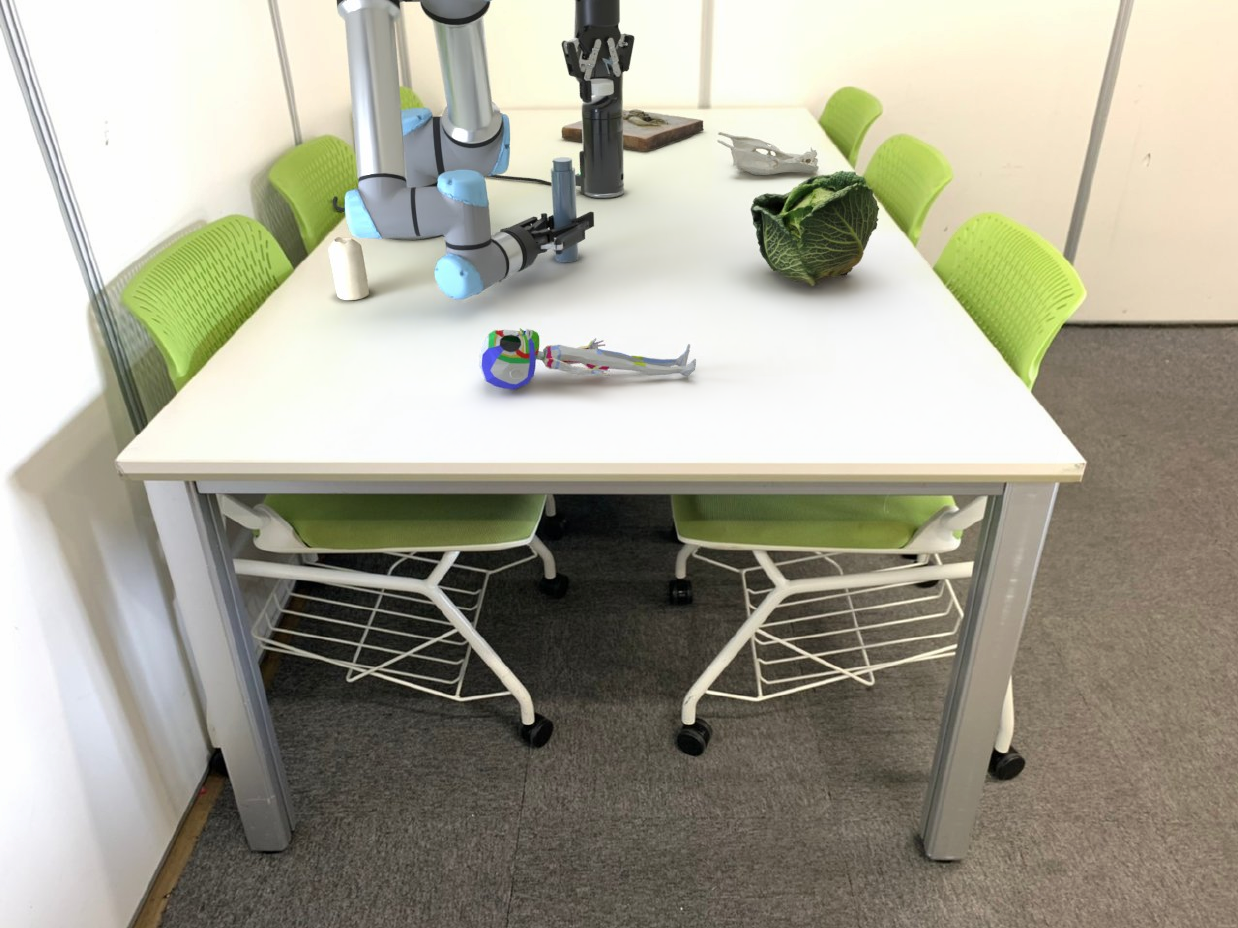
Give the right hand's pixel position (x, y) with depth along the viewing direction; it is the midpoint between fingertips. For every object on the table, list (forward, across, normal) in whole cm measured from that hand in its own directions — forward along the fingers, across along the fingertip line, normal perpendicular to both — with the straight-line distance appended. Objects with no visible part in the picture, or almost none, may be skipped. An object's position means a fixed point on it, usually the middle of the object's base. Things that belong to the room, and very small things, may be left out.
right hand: (599, 99), depth 161 cm
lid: (-3, 0, 0) cm, 3 cm away
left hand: (+21, +4, -1) cm, 21 cm away
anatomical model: (+29, -63, -24) cm, 74 cm away
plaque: (+30, -60, -78) cm, 102 cm away
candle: (+27, +49, -4) cm, 56 cm away
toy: (+26, +32, +47) cm, 63 cm away
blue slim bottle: (+28, +9, +1) cm, 29 cm away
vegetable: (+27, -22, +35) cm, 50 cm away
